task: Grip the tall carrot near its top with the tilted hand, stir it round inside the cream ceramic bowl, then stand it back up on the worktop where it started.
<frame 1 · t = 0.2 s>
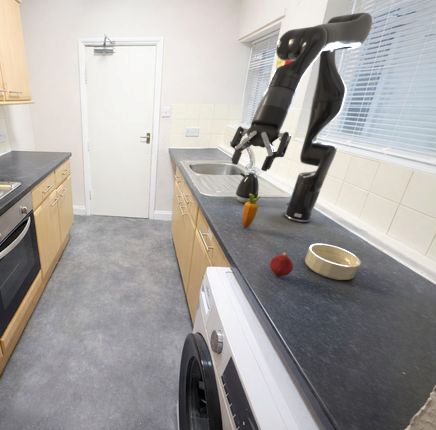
hand: (248, 167, 74), 31 cm above the worktop, tool tilted 20°, fingers open, 8 cm apart
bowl: (327, 268, 85), on the worktop
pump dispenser: (244, 202, 136), on the worktop
carrot: (245, 228, 109), on the worktop
onion: (277, 276, 81), on the worktop
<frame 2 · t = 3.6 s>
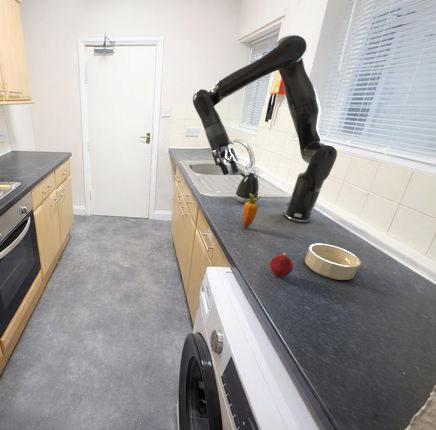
hand: (231, 173, 107), 21 cm above the worktop, tool tilted 35°, fingers open, 8 cm apart
nothing on the worktop moved.
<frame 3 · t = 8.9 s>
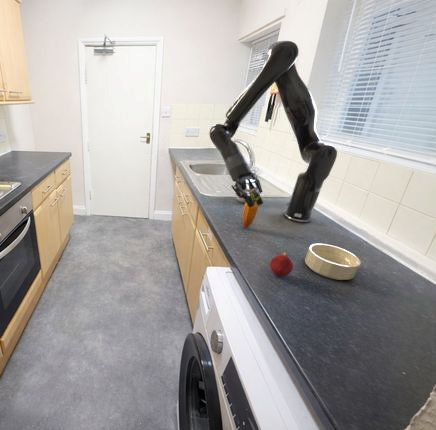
hand: (256, 205, 102), 11 cm above the worktop, tool tilted 45°, fingers closed on carrot, 4 cm apart
carrot: (245, 228, 109), on the worktop, touching gripper
everything else where it was.
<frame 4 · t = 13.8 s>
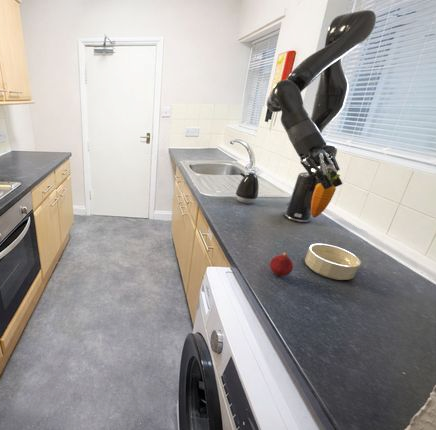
hand: (333, 186, 78), 26 cm above the worktop, tool tilted 45°, fingers closed on carrot, 4 cm apart
carrot: (313, 218, 85), point 15 cm above the worktop, touching gripper
everything else where it was.
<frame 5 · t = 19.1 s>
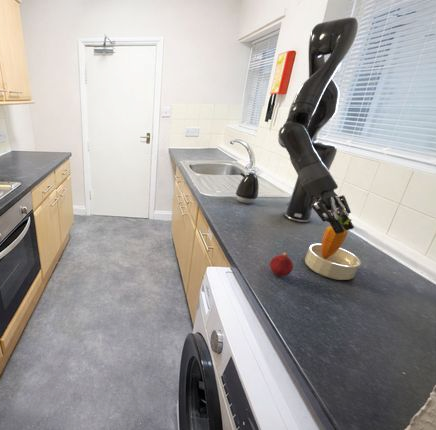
hand: (345, 230, 77), 14 cm above the worktop, tool tilted 45°, fingers closed on carrot, 4 cm apart
carrot: (324, 259, 84), point 3 cm above the worktop, touching gripper
everything else where it was.
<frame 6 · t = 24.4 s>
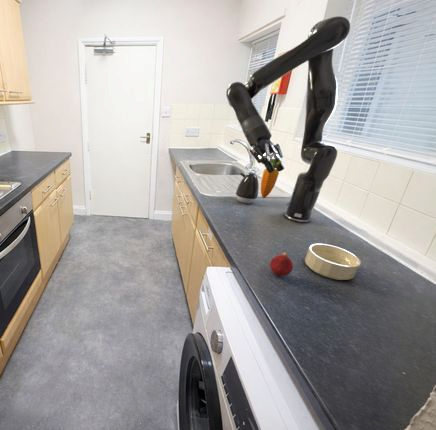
hand: (276, 170, 93), 26 cm above the worktop, tool tilted 45°, fingers closed on carrot, 4 cm apart
carrot: (263, 198, 99), point 14 cm above the worktop, touching gripper
everything else where it was.
when the fingers open (11 cm above the worktop, at t = 29.2 s): carrot stays where it is, on the worktop.
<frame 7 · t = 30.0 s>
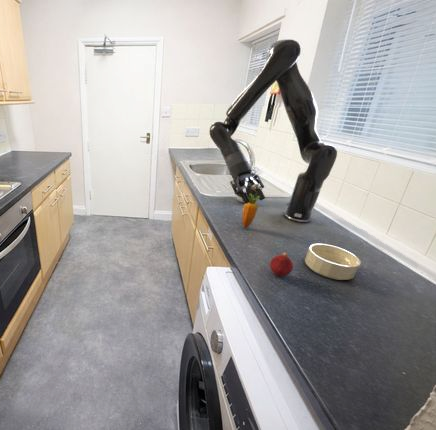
hand: (255, 201, 103), 12 cm above the worktop, tool tilted 45°, fingers open, 8 cm apart
carrot: (244, 228, 109), on the worktop
everything else where it was.
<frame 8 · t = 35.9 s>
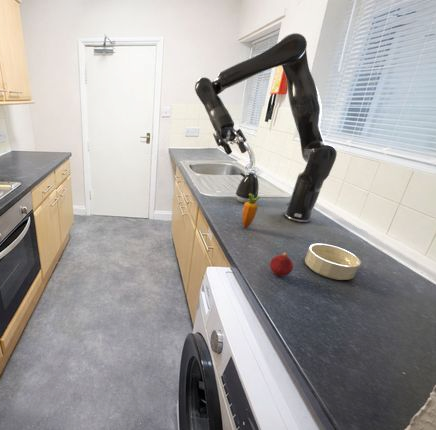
hand: (237, 152, 106), 29 cm above the worktop, tool tilted 45°, fingers open, 8 cm apart
nothing on the worktop moved.
at the end: carrot tilted 0°; the gripper is holding nothing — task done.
